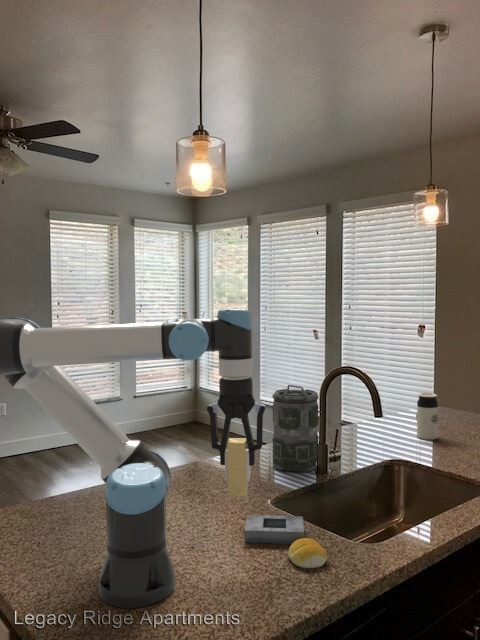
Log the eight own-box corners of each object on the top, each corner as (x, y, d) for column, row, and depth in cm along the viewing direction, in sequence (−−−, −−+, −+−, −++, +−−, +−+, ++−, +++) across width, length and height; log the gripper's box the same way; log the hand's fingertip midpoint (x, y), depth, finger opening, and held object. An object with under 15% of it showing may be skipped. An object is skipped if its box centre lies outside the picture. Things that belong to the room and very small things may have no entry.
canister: (263, 465, 184) (262, 385, 183) (294, 456, 195) (293, 380, 194) (296, 476, 172) (296, 391, 171) (328, 466, 183) (328, 385, 182)
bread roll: (317, 548, 123) (317, 531, 123) (331, 567, 115) (331, 548, 114) (283, 552, 122) (282, 534, 121) (295, 571, 113) (295, 553, 113)
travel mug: (413, 436, 222) (413, 393, 221) (429, 434, 224) (429, 392, 224) (425, 440, 215) (425, 396, 214) (441, 439, 217) (442, 395, 216)
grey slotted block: (304, 544, 125) (304, 532, 125) (244, 542, 126) (244, 530, 126) (302, 528, 134) (302, 516, 134) (247, 526, 135) (247, 514, 135)
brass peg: (246, 495, 119) (244, 442, 118) (228, 495, 119) (227, 442, 119) (247, 489, 123) (246, 438, 122) (230, 489, 123) (229, 438, 123)
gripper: (274, 374, 123) (275, 474, 124) (201, 374, 125) (203, 473, 126) (272, 379, 115) (274, 485, 116) (195, 379, 117) (198, 484, 118)
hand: (237, 478), depth 121 cm, fingers closed on brass peg, 4 cm apart
